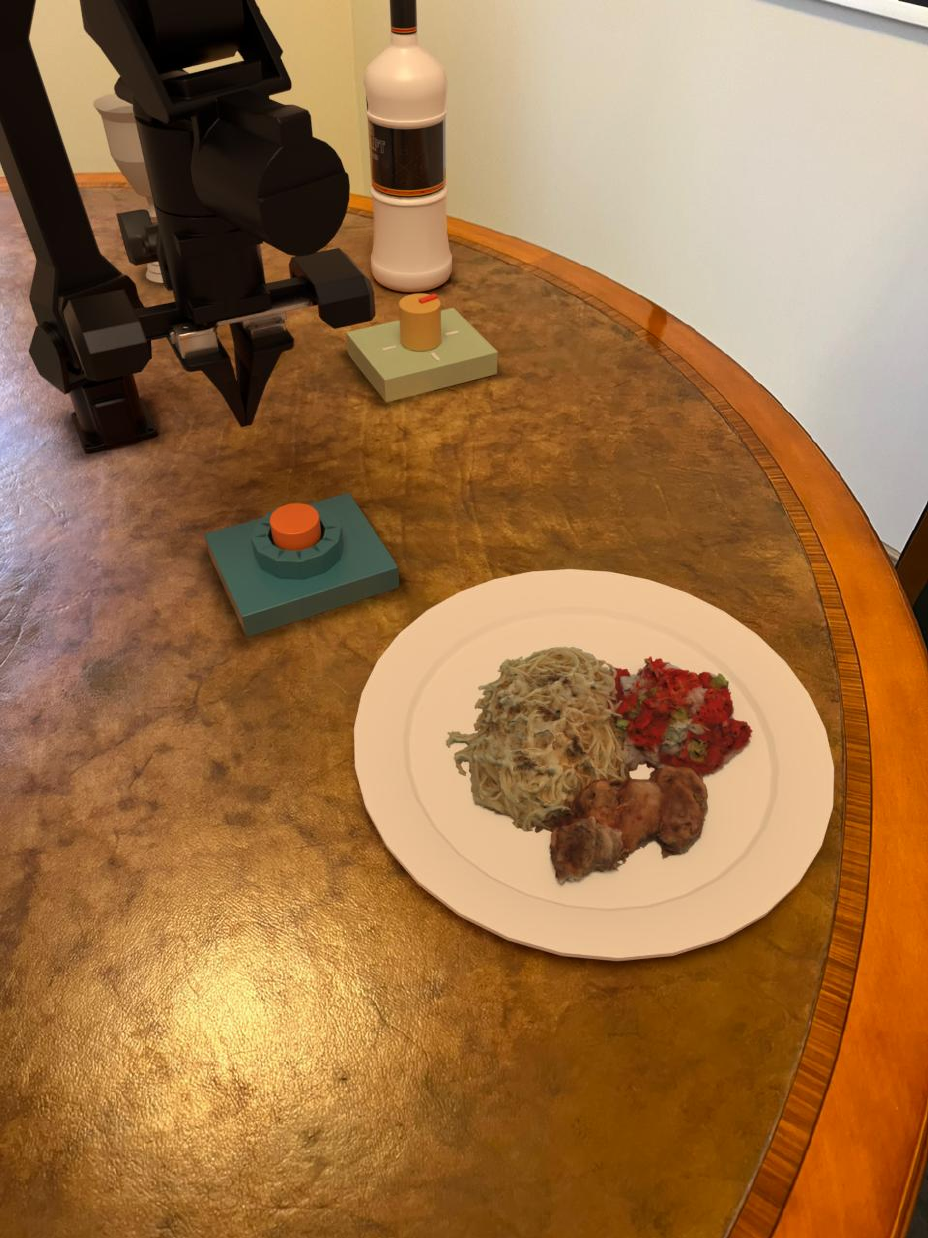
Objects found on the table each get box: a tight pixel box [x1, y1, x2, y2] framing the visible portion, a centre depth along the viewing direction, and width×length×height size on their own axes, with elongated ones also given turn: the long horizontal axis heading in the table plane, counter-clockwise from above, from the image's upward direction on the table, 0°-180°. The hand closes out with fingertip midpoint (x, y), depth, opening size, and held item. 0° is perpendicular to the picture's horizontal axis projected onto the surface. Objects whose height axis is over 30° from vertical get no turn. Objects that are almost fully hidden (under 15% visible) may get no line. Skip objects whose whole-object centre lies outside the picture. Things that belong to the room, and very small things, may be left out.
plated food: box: [353, 568, 835, 962], centre depth 59 cm, size 30×30×3 cm
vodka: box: [362, 0, 453, 293], centre depth 96 cm, size 9×9×30 cm
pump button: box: [270, 502, 321, 551], centre depth 69 cm, size 4×4×2 cm
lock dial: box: [398, 293, 442, 351], centre depth 90 cm, size 4×4×4 cm
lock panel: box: [345, 307, 499, 404], centre depth 93 cm, size 10×12×3 cm
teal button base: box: [204, 492, 400, 638], centre depth 70 cm, size 10×12×4 cm
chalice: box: [92, 92, 164, 284], centre depth 101 cm, size 7×7×18 cm
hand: (244, 423), depth 65 cm, fingers closed
